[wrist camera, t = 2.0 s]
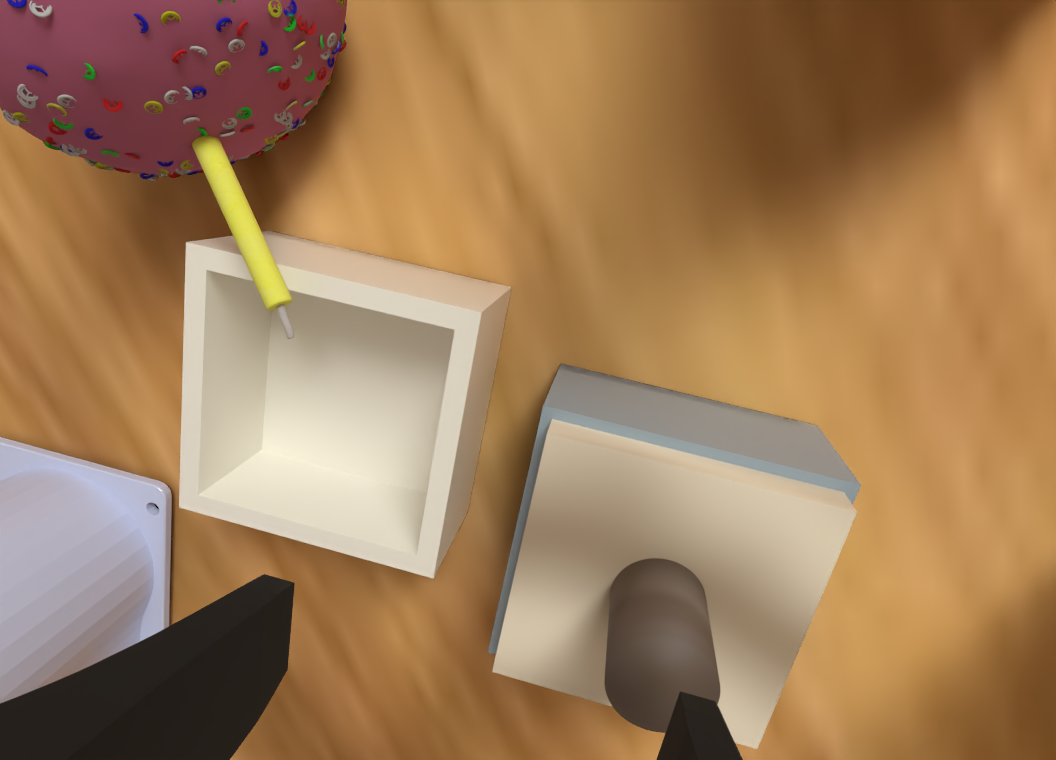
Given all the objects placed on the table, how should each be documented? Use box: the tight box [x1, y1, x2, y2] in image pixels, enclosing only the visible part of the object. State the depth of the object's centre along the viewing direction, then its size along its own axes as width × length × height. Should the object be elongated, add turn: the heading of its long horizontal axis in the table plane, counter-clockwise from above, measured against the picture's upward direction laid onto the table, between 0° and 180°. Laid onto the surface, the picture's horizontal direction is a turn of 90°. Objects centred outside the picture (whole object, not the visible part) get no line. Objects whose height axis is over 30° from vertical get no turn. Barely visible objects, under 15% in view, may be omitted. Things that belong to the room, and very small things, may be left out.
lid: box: [492, 419, 857, 749], centre depth 15 cm, size 7×7×4 cm
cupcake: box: [0, 0, 347, 339], centre depth 15 cm, size 9×8×12 cm
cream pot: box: [179, 231, 512, 578], centre depth 19 cm, size 8×8×4 cm
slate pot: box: [488, 363, 861, 655], centre depth 19 cm, size 8×8×4 cm
